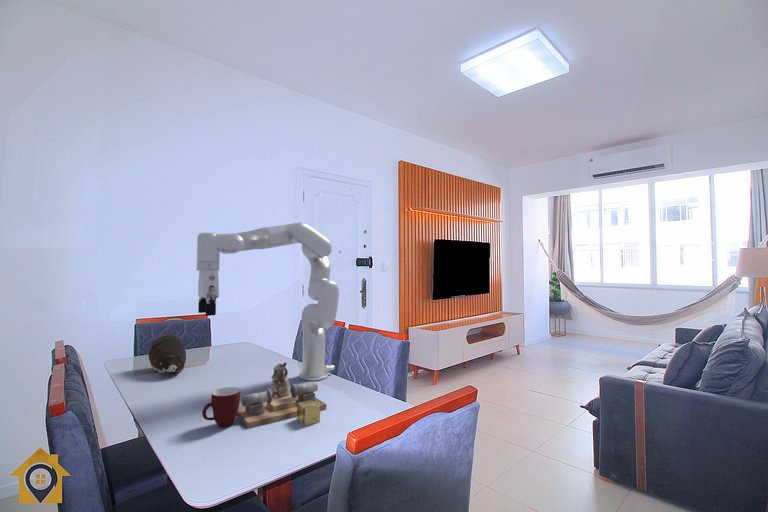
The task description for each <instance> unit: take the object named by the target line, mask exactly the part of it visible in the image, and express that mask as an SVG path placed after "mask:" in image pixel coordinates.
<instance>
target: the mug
mask: <svg viewBox="0 0 768 512" xmlns="http://www.w3.org/2000/svg"><path fill="white" fill-rule="evenodd" d="M210 400H211V401H210V402H209V403H207V404H205V405H204V406H203V408H202V412H201V414H202V417H203V419H204V420H206V421H214V422H215V424H216V425H217V426H218V427H219V428H221V429H224V428H229V427H231V426H232V425H234V422H235V420H236V419H237V417H238V416H237V413H238V408H239V407H240V402H241V389H240V388H239V387H232V386H231V387H228V386H227V387H221V388H217V389H215V390H213V391H212V392H211V399H210ZM209 408H211V409H212V417H210V416H207V410H208V409H209Z"/></svg>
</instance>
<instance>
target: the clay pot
mask: <svg viewBox="0 0 768 512" xmlns="http://www.w3.org/2000/svg"><path fill="white" fill-rule="evenodd" d="M186 354H187V353H186V348H185V344H184V341H183V338H181V337H179V336H178V335H173V334H163V335H161V336H159V337H157V338H155V340H153V341H152V342H151V344H150V346H149V347H148V360H149V363H150V364H149V365H150V367H151V368H152V369H153V371H156V372H158V373H159V375H161V374H162V373H163V374H164V373H167V374H175V376H178V375H180V374H181V372H182V371H183V370H184V369H185V364H186V361H187V355H186Z"/></svg>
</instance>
